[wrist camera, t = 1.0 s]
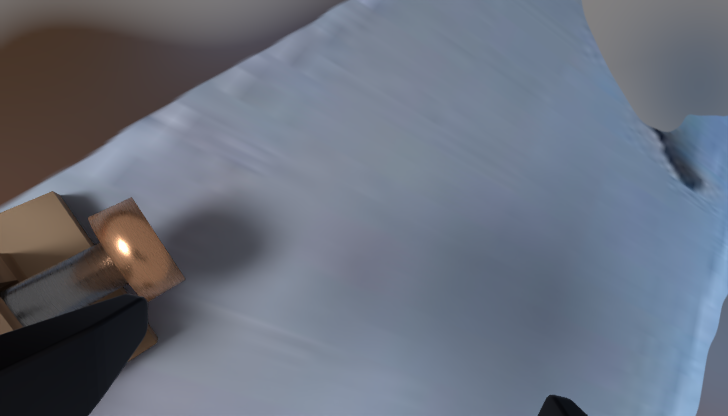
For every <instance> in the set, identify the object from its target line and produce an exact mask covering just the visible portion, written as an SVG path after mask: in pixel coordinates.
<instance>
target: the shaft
mask: <svg viewBox="0 0 728 416" xmlns="http://www.w3.org/2000/svg"><path fill="white" fill-rule="evenodd" d="M88 220H89V222H90V225H91V227H92V229H93V231H94V233H95V234H96V236H97V238H98V239H99V241H100V243H98V244H96V245H94V246H92V247H90V248H88V249H86V250H84V251H82V252H80V253H78V254H76V255H74V256H72V257H70V258H68V259H66V260H64V261H62V262H60V263H58V264H56V265H54V266H52V267H50V268H48V269H46V270H44V271H42V272H40V273H38V274H36V275H34V276H32V277H30V278H28V279H26V280H24V281H22V282H20V283H18V284H16V285H14V286H11V287H9V288H7V289H5V290H3V291H1V292H0V297H1V298H2V300H3V301H4V302H5V304H6V305H7V306H8V308H9V309H10V310H11V312H12V313H13V314H14V316H15V317H16V318H17V320H18V321H19V322H20V324H21V325H22V326H23V327H25V326H28V325H31V324H34V323H37V322H40V321H43V320H46V319H50V318H53V317H56V316H59V315H62V314H65V313H68V312H71V311H74V310H77V309H80V308H83V307H86V306H89V305H91V304H93V303H94V302H96V301H98V300H100V299H102V298H103V297H105V296H107V295H109V294H110V293H112V292H114V291H116V290H118V289H119V288H121V287H123V286H125V285H126V284H128V283H129V285H130V286H131V287H132V288H133V290H134V291H135V292H136V293H137V294H138V295H139V296H142V297H144V298H146V300H147V302H149V301H151V300H152V299H154V298H156V297H157V296H159V295H161V294H162V293H164V292H166V291H167V290H169V289H171V288H172V287H174V286H176V285H177V284H179V283H181V282H182V281H184V280H186V279H185V278H184V276H183V275H182V273H181V272H180V270H179V268H178V267H177V265H176V264H175V262H174V261H173V259H172V258H171V256H170V255H169V253H168V252H167V250H166V249H165V247H164V246H163V244H162V243H161V241H160V240H159V238H158V236H157V235H156V233H155V232H154V230H153V229H152V227H151V226H150V224H149V223H148V221H147V220H146V218H145V217H144V215H143V214H142V212H141V211H140V209H139V208H138V206H137V204H136V203H135V201H134V200H133V198H132V197H131V198H129V199H127V200H124V201H122V202H120V203H118V204H116V205H114V206H111V207H109V208H107V209H105V210H103V211H101V212H98V213H96V214H94V215H92V216H90V217H88Z"/></svg>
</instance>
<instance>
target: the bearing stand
mask: <svg viewBox="0 0 728 416" xmlns="http://www.w3.org/2000/svg"><path fill="white" fill-rule="evenodd" d="M92 246H94V244H93V243H92V241H91V240H90V238H89V237H88V235H87V234H86V232H85V231H84V230H83V228H82V227H81V225H80V224H79V222H78V221H77V219H76V218H75V216H74V215H73V214H72V212H71V211H70V209H69V208H68V206H67V205H66V203H65V202H64V200H63V199H62V198H61V196H60V195H59V194H57V193H55V192H53V191H52V192H50V193H47V194H45V195H42V196H40V197H38V198H35V199H33V200H30V201H28V202H25V203H23V204H21V205H18V206H16V207H13V208H11V209H9V210H6V211H4V212H1V213H0V292H1V291H3V290H5V289H7V288H9V287H11V286H14V285H16V284H18V283H20V282H22V281H24V280H26V279H28V278H30V277H32V276H34V275H36V274H38V273H40V272H42V271H44V270H46V269H48V268H50V267H52V266H54V265H56V264H58V263H60V262H62V261H64V260H66V259H68V258H70V257H72V256H74V255H76V254H78V253H80V252H82V251H84V250H86V249H88V248H90V247H92ZM123 294H128V293H127V292H126V291H125V289H124V288H123V287H121V288H119V289H118V290H116V291H114V292H112V293H110V294H109V295H107V296H105V297H103V298H102V299H100V300H98V301H96V302H94V303H93V304H96V303H99V302H102V301H105V300H108V299H111V298H114V297H117V296H120V295H123ZM91 305H92V304H91ZM22 327H23V326H22V325H21V324H20V322H19V321H18V320H17V318H16V317H15V316H14V314H13V313H12V312H11V310H10V309H9V308H8V306H7V305H6V304H5V302H4V301H3V300H2V298H1V297H0V334H4V333H7V332H10V331H13V330H16V329H19V328H22ZM157 340H158V337H157V336H156V334H155V333H154V331H153V330H152V328H151V327H150V325H149V324H148V328H147V332H146V335H145V337H144V339H143V340H142V342H141V343H140V344H139V346H138V347H137V349H136V350H135V352H134V353H133V355H132V356H131V357H130V359H129V360H128V362H129V361H130V360H132V359H133V358H135V357H136V356H138V355H139V354H141V353H142V352H144V351H145V350H147V349H148V348H150V347H151V346H153V345H154V344H156V343H157Z"/></svg>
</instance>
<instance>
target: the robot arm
mask: <svg viewBox="0 0 728 416" xmlns="http://www.w3.org/2000/svg"><path fill="white" fill-rule="evenodd" d="M147 328H148V303H147V300H146V298H144V297H142V296H138V295H134V294H123V295H120V296H117V297H114V298H111V299H108V300H105V301H102V302H99V303H96V304H92V305H89V306H86V307H83V308H80V309H77V310H74V311H71V312H68V313H65V314H62V315H59V316H56V317H53V318H50V319H46V320H43V321H40V322H37V323H34V324H31V325H28V326H25V327H22V328H19V329H16V330H13V331H10V332H7V333H4V334H0V416H88V415H89V414H90V413H91V411H92V410H93V409H94V408H95V407H96V405H97V404H98V403H99V402H100V400H101V399H102V397H103V396H104V395H105V393H106V392H107V391H108V389H109V388H110V386H111V385H112V383H113V382H114V380H115V379H116V378H117V376H118V375H119V373H120V372H121V370H122V369H123V368H124V366H125V365H126V363H127V362H128V360H129V359H130V357H131V356H132V355H133V353H134V352H135V350H136V349H137V347H138V346H139V344H140V343H141V342H142V340H143V339H144V337H145V335H146V332H147ZM538 416H588V415H587V414H586V413H585V412H583V411H582V410H581V409H580V408H579V407H578V406H577V405H576V404H575V403H574V402H573V401H572V400H570V399H568V398H565V397H561V396H556V395H549V396H548V397H547V398H546V400H545V402H544V404H543V406H542V408H541V410H540V412H539V414H538Z"/></svg>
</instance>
